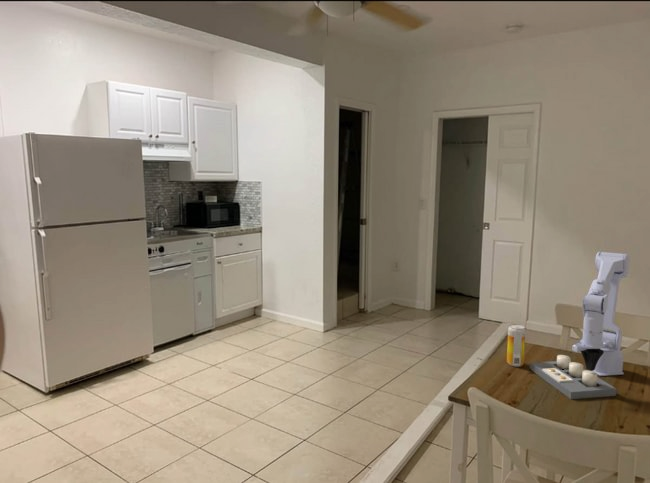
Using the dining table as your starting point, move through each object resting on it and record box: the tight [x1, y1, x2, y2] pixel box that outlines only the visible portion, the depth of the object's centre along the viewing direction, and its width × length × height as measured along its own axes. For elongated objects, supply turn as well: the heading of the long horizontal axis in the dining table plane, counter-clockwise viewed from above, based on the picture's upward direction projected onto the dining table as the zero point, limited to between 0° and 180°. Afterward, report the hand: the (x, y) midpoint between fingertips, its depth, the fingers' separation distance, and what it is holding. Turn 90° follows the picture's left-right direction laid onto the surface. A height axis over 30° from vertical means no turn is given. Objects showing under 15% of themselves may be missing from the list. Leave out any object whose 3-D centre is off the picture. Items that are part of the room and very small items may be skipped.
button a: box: [556, 354, 571, 370], centre depth 170 cm, size 4×4×4 cm
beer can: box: [506, 324, 526, 368], centre depth 177 cm, size 6×6×15 cm
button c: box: [582, 369, 599, 387], centre depth 156 cm, size 4×4×4 cm
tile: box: [542, 368, 573, 383], centre depth 162 cm, size 5×10×1 cm, turn 7°
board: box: [529, 360, 618, 400], centre depth 163 cm, size 16×24×2 cm, turn 7°
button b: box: [569, 361, 585, 378], centre depth 163 cm, size 4×4×4 cm
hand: (590, 369), depth 155 cm, fingers closed
